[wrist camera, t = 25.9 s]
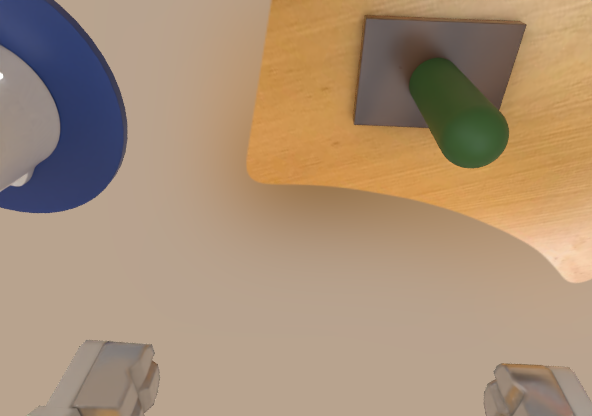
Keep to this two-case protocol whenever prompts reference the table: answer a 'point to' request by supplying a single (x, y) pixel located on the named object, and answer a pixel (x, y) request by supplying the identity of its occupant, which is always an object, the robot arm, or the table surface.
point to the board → (423, 46)
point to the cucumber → (458, 114)
